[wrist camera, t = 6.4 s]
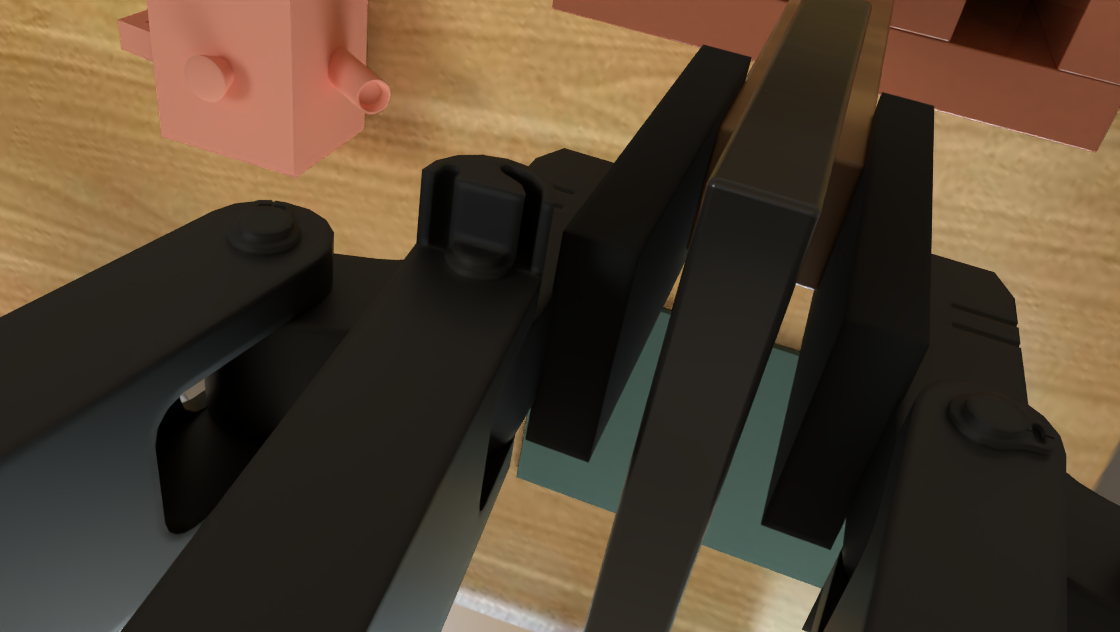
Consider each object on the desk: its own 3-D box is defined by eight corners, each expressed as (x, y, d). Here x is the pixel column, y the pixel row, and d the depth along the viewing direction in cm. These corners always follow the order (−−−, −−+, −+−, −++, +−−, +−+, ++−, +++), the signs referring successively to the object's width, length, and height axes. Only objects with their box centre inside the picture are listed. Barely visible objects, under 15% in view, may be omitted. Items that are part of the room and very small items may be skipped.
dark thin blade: (933, -131, 22) (912, 238, 6) (849, 105, 26) (695, 738, 10) (849, -149, 22) (624, 153, 6) (778, 86, 26) (514, 664, 10)
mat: (1006, 417, 42) (1007, 422, 42) (895, 610, 50) (895, 615, 50) (554, 272, 46) (552, 276, 46) (518, 472, 54) (516, 477, 54)
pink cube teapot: (435, 139, 45) (349, 211, 38) (218, 77, 47) (101, 134, 40) (448, -26, 40) (352, 22, 34) (207, -87, 42) (73, -53, 36)
